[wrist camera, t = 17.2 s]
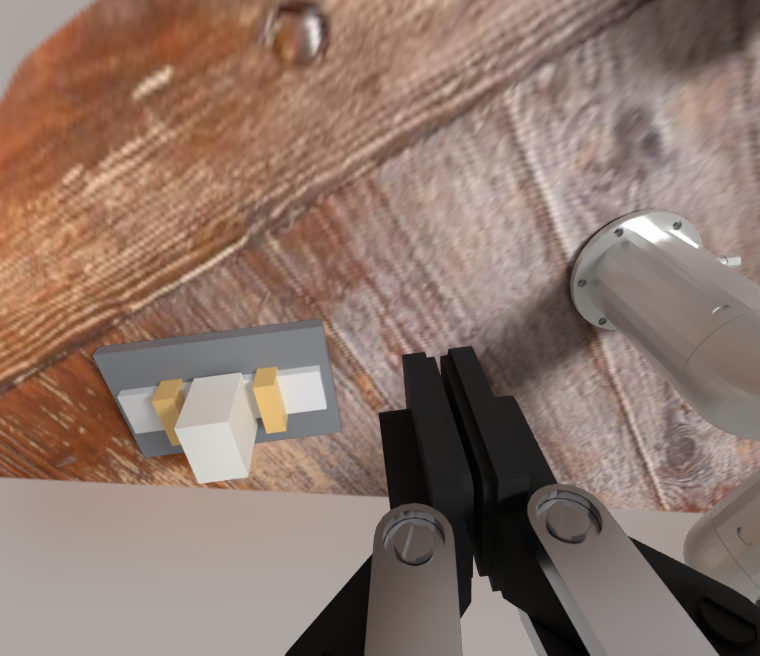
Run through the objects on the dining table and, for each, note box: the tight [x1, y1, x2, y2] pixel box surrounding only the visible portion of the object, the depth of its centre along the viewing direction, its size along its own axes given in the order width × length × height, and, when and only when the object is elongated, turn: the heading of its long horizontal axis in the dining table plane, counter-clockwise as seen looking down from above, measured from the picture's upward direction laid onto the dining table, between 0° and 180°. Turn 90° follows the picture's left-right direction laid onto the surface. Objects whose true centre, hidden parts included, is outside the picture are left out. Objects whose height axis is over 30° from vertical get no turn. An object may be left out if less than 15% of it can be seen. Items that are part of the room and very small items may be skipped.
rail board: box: [92, 319, 342, 458], centre depth 49 cm, size 22×14×4 cm, turn 95°
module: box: [174, 372, 258, 484], centre depth 46 cm, size 5×7×7 cm, turn 6°
